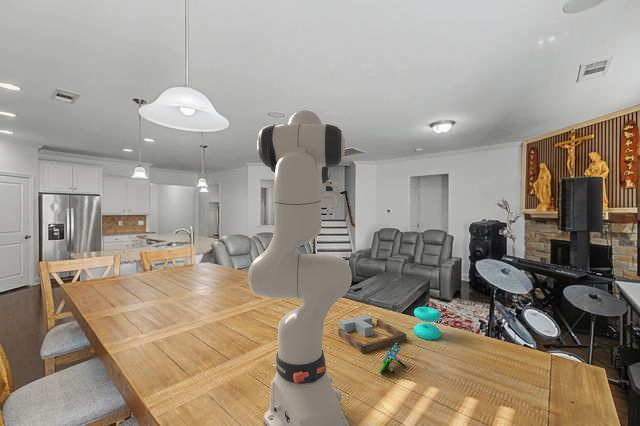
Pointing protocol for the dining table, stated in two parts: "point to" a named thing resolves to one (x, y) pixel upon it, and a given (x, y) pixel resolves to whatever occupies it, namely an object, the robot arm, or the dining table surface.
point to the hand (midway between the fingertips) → (318, 213)
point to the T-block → (358, 325)
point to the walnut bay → (377, 344)
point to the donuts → (424, 328)
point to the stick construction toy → (394, 357)
